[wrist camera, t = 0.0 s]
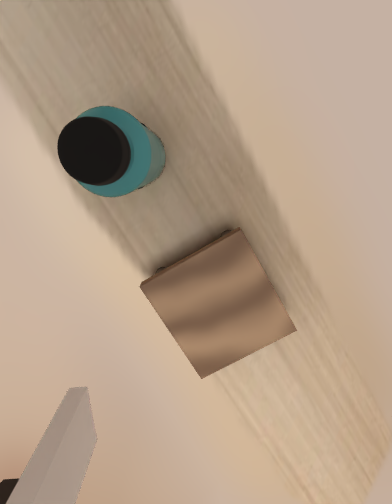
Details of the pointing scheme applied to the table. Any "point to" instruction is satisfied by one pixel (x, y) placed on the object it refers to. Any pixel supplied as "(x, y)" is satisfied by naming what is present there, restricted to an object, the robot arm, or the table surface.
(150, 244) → the table surface
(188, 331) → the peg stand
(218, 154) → the table surface
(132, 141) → the beverage bottle
